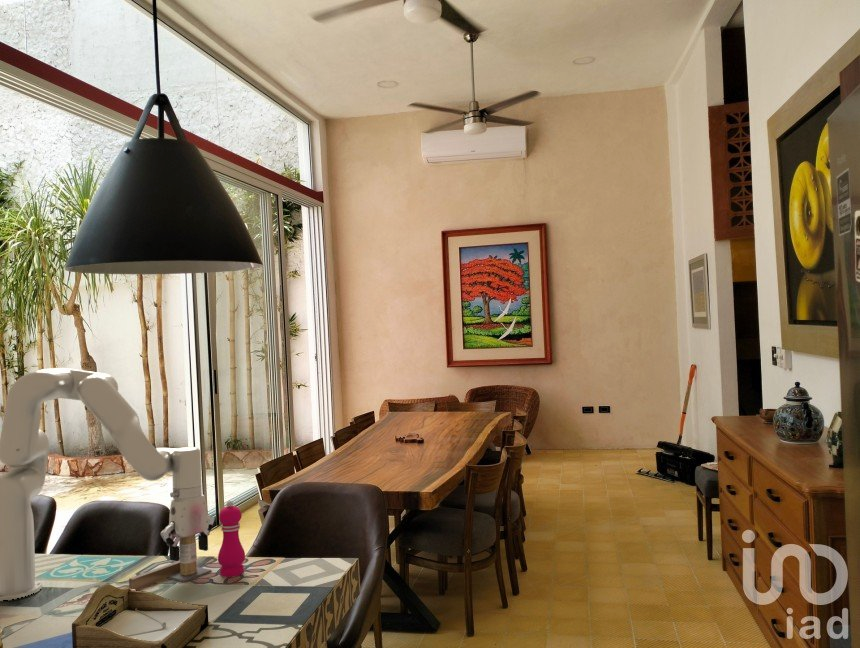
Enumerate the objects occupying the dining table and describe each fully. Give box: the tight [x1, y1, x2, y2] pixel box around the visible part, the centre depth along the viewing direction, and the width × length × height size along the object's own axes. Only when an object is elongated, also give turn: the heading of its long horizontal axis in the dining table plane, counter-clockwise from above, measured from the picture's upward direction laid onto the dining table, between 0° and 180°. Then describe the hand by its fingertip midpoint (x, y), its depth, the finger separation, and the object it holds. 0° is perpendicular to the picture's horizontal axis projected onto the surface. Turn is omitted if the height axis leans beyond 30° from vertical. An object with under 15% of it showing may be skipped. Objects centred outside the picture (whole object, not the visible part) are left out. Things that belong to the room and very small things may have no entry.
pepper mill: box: [217, 500, 246, 578], centre depth 189 cm, size 7×7×20 cm
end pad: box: [167, 566, 212, 583], centre depth 189 cm, size 7×9×1 cm
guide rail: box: [128, 559, 180, 590], centre depth 186 cm, size 2×17×3 cm, turn 149°
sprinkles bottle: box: [178, 534, 198, 575], centre depth 189 cm, size 5×5×14 cm
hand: (189, 555), depth 189 cm, fingers open, 9 cm apart
